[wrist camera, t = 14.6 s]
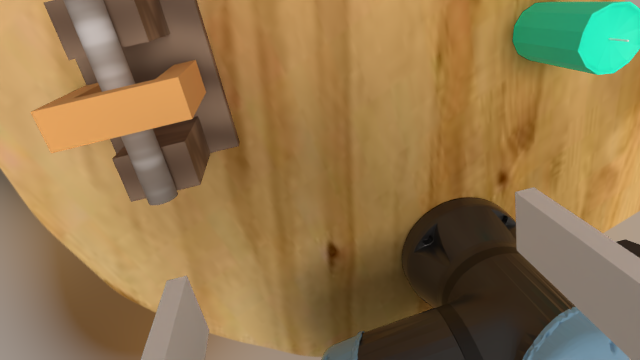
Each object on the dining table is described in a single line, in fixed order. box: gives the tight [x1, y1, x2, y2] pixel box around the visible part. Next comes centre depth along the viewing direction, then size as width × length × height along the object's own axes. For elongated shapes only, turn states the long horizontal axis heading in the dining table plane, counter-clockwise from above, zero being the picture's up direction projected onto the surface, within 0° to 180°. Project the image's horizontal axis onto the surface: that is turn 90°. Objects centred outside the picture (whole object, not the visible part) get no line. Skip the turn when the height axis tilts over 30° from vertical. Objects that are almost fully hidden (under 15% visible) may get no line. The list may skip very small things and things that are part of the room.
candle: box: [513, 2, 640, 75], centre depth 40 cm, size 6×6×12 cm
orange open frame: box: [31, 60, 206, 153], centre depth 34 cm, size 3×10×10 cm, turn 102°
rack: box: [44, 0, 239, 205], centre depth 37 cm, size 16×12×12 cm
